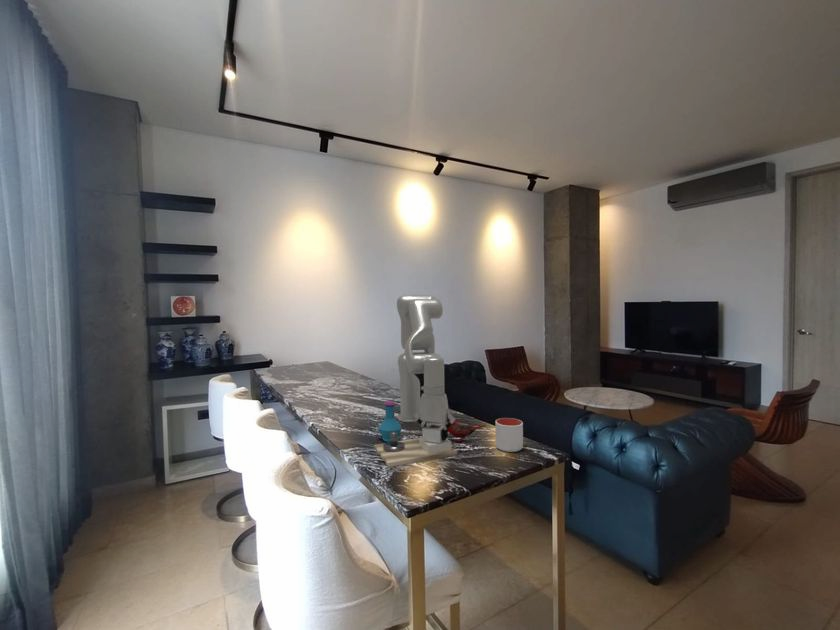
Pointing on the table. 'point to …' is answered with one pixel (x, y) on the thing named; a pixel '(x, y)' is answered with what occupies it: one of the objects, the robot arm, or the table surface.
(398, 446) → the rod stand
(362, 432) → the table surface
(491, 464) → the table surface
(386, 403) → the perfume bottle
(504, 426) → the cup
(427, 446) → the block
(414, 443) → the board
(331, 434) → the table surface
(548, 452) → the table surface
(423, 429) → the steel collar
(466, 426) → the decorative bird figurine
